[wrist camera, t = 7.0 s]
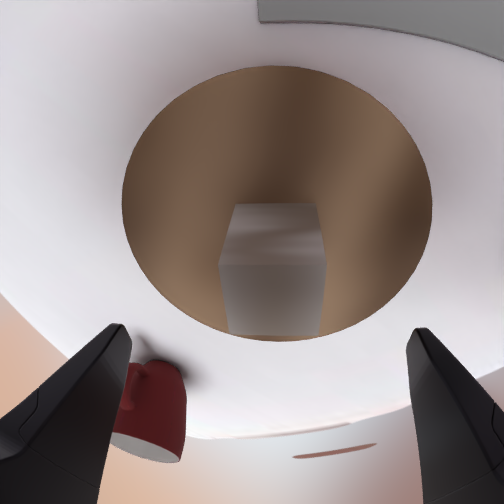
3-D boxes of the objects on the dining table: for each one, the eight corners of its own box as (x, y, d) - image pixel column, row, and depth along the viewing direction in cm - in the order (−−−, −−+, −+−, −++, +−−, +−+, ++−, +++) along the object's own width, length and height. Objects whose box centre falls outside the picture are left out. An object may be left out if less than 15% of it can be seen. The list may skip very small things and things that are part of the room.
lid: (443, 81, 9) (516, 104, 5) (392, 328, 17) (408, 395, 13) (102, 90, 11) (27, 116, 7) (165, 326, 19) (142, 390, 15)
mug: (104, 334, 29) (68, 413, 21) (166, 329, 27) (134, 425, 19) (152, 387, 35) (131, 457, 27) (210, 387, 33) (194, 466, 25)
